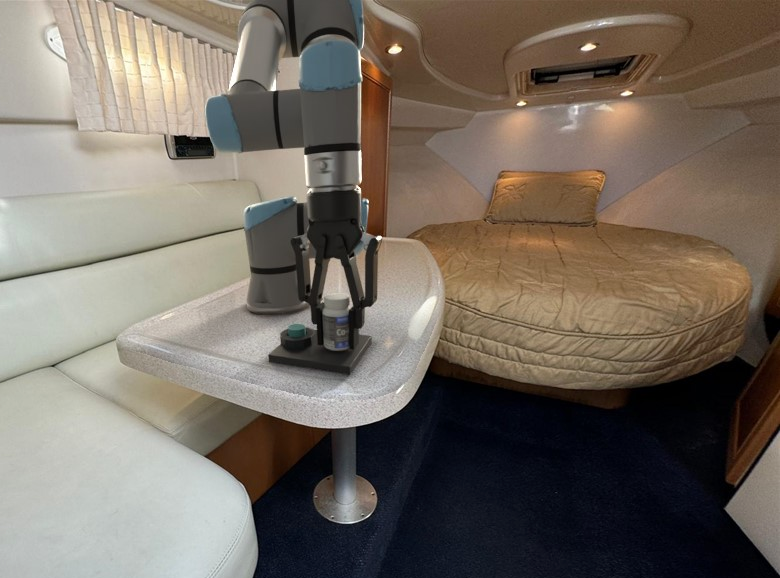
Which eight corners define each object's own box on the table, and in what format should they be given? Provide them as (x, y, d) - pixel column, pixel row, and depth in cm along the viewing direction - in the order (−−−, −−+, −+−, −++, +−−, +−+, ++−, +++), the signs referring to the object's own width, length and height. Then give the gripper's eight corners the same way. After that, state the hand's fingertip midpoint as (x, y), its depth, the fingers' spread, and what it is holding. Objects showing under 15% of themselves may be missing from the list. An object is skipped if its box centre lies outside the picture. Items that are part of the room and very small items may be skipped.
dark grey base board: (266, 361, 60) (264, 345, 59) (298, 334, 70) (296, 319, 68) (350, 375, 54) (349, 357, 53) (371, 343, 64) (372, 327, 63)
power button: (285, 337, 62) (284, 329, 61) (293, 331, 64) (292, 322, 64) (301, 339, 61) (300, 331, 60) (308, 332, 63) (308, 324, 62)
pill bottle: (340, 354, 57) (338, 302, 53) (318, 346, 60) (315, 297, 56) (358, 344, 60) (358, 294, 56) (336, 337, 63) (335, 290, 59)
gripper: (263, 193, 50) (279, 346, 60) (392, 187, 43) (386, 361, 53) (288, 190, 56) (299, 330, 66) (404, 184, 49) (397, 341, 59)
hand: (338, 343), depth 60 cm, fingers closed on pill bottle, 5 cm apart
